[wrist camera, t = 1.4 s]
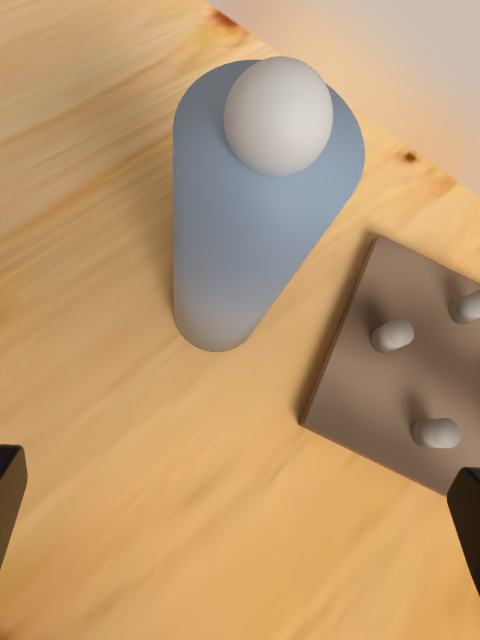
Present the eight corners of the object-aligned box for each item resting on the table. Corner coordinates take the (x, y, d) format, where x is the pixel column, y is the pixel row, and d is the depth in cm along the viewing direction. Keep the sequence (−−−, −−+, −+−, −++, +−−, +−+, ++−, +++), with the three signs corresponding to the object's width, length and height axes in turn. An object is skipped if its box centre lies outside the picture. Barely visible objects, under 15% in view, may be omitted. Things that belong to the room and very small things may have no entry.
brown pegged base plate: (501, 524, 22) (549, 536, 20) (298, 424, 22) (316, 422, 19) (545, 328, 26) (591, 314, 23) (371, 241, 26) (396, 217, 23)
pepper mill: (273, 320, 24) (447, 113, 9) (206, 368, 22) (273, 222, 7) (224, 257, 24) (307, -42, 9) (156, 300, 23) (123, 35, 8)
